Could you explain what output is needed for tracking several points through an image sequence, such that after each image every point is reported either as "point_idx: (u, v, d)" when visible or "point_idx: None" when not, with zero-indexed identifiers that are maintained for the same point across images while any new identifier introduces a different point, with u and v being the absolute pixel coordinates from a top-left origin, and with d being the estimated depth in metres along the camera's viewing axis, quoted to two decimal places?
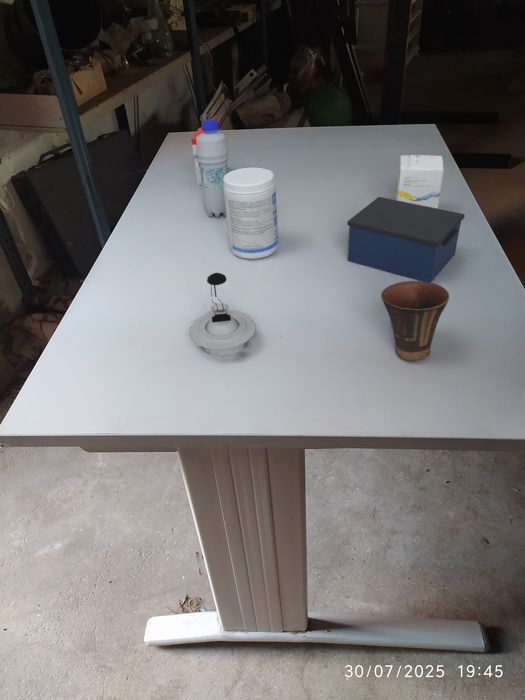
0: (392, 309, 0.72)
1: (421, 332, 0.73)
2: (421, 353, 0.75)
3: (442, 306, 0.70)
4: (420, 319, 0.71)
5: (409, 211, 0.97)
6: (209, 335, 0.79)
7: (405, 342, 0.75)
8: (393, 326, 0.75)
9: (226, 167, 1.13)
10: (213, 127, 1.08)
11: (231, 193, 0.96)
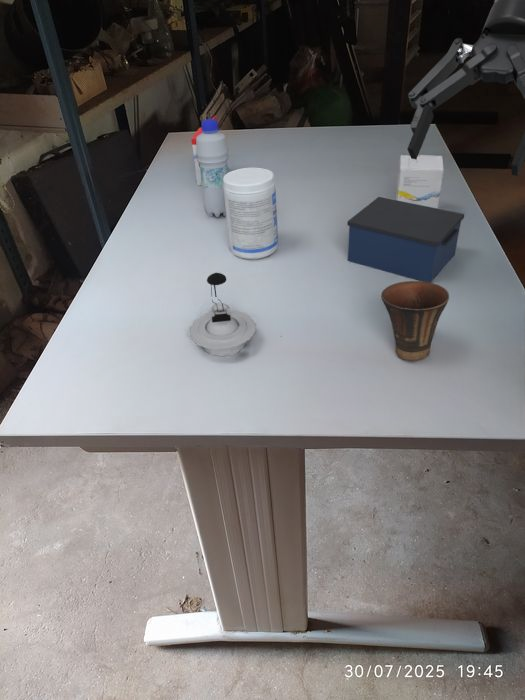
0: (393, 309, 0.72)
1: (421, 332, 0.73)
2: (421, 353, 0.75)
3: (442, 306, 0.70)
4: (420, 319, 0.71)
5: (409, 211, 0.97)
6: (209, 335, 0.79)
7: (405, 342, 0.75)
8: (393, 326, 0.75)
9: (226, 167, 1.13)
10: (213, 127, 1.08)
11: (231, 193, 0.96)
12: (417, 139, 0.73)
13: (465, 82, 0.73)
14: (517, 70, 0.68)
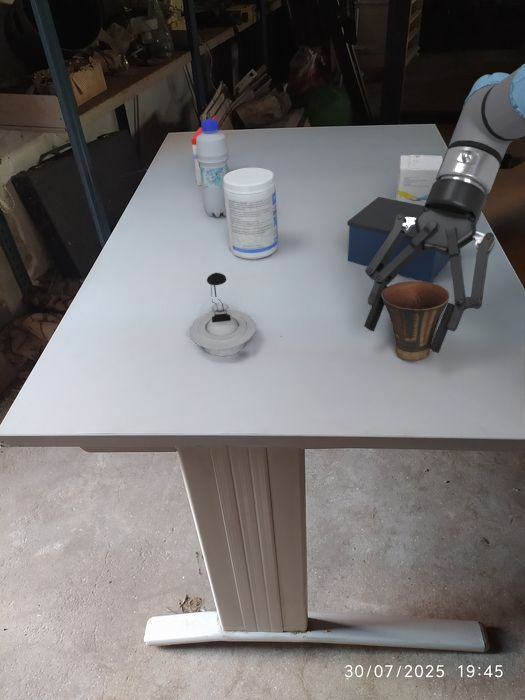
0: (393, 309, 0.72)
1: (421, 332, 0.73)
2: (421, 353, 0.75)
3: (442, 306, 0.70)
4: (420, 319, 0.71)
5: (409, 211, 0.97)
6: (209, 335, 0.79)
7: (406, 342, 0.75)
8: (393, 326, 0.75)
9: (226, 167, 1.13)
10: (213, 127, 1.08)
11: (231, 193, 0.96)
12: (373, 317, 0.76)
13: (414, 254, 0.76)
14: (449, 251, 0.72)
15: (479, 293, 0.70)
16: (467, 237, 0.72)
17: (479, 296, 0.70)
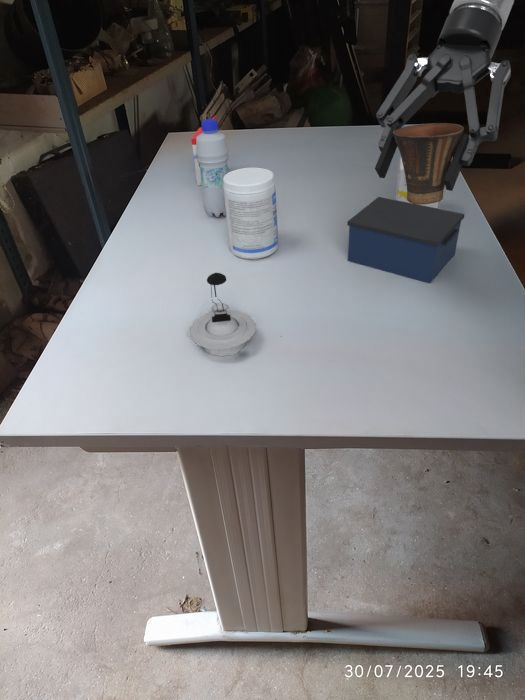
0: (405, 141, 0.69)
1: (434, 168, 0.70)
2: (434, 195, 0.73)
3: (457, 135, 0.68)
4: (434, 150, 0.69)
5: (409, 211, 0.97)
6: (209, 335, 0.79)
7: (418, 182, 0.72)
8: (405, 166, 0.73)
9: (226, 167, 1.13)
10: (213, 127, 1.08)
11: (231, 193, 0.96)
12: (384, 159, 0.74)
13: (426, 95, 0.74)
14: (463, 82, 0.70)
15: (495, 120, 0.68)
16: (482, 68, 0.70)
17: (495, 123, 0.68)
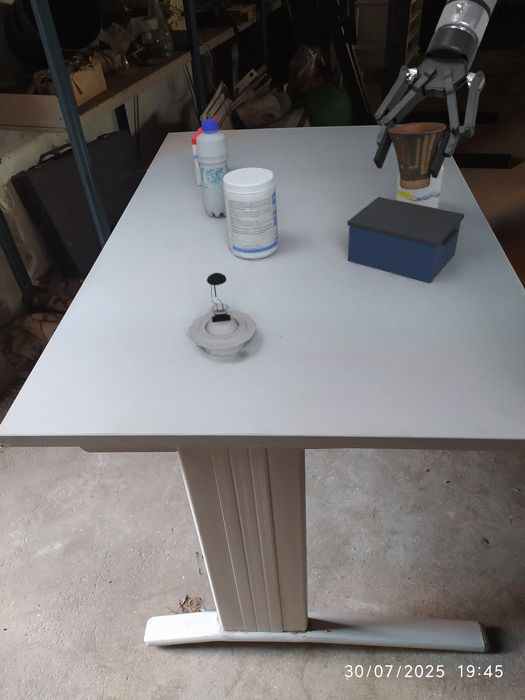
0: (398, 137, 0.85)
1: (422, 159, 0.86)
2: (422, 181, 0.88)
3: (440, 132, 0.83)
4: (421, 144, 0.84)
5: (409, 211, 0.97)
6: (209, 335, 0.79)
7: (409, 171, 0.87)
8: (398, 158, 0.88)
9: (226, 167, 1.13)
10: (213, 127, 1.08)
11: (231, 193, 0.96)
12: (381, 152, 0.89)
13: (416, 99, 0.89)
14: (445, 89, 0.85)
15: (471, 120, 0.83)
16: (461, 77, 0.85)
17: (471, 123, 0.83)
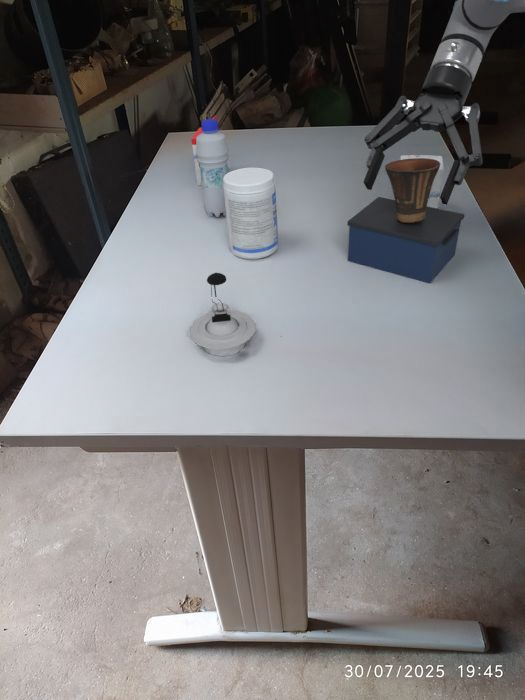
0: (394, 174, 0.88)
1: (417, 194, 0.89)
2: (418, 215, 0.92)
3: (434, 169, 0.87)
4: (416, 181, 0.87)
5: None
6: (209, 335, 0.79)
7: (405, 205, 0.91)
8: (395, 193, 0.91)
9: (226, 167, 1.13)
10: (213, 127, 1.08)
11: (231, 193, 0.96)
12: (371, 175, 0.93)
13: (408, 129, 0.93)
14: (445, 123, 0.88)
15: (479, 149, 0.85)
16: (457, 112, 0.88)
17: (480, 151, 0.85)
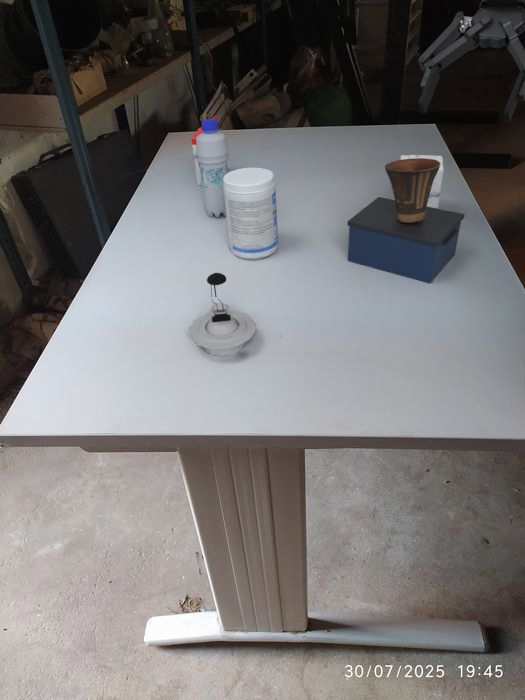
0: (394, 174, 0.88)
1: (417, 194, 0.89)
2: (418, 215, 0.92)
3: (434, 169, 0.87)
4: (417, 181, 0.87)
5: None
6: (209, 335, 0.79)
7: (405, 205, 0.91)
8: (395, 193, 0.91)
9: (226, 167, 1.13)
10: (213, 127, 1.08)
11: (231, 193, 0.96)
12: (426, 95, 0.88)
13: (466, 47, 0.88)
14: (508, 36, 0.83)
15: None
16: (520, 25, 0.83)
17: None
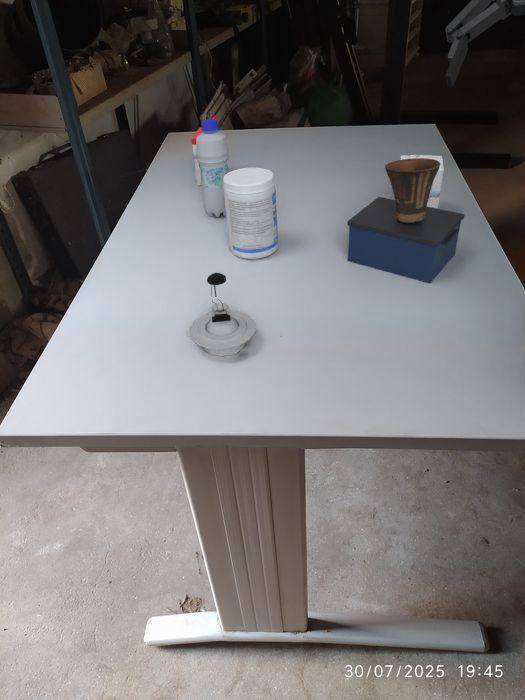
0: (394, 174, 0.88)
1: (417, 194, 0.89)
2: (418, 215, 0.92)
3: (434, 169, 0.87)
4: (417, 181, 0.87)
5: None
6: (209, 335, 0.79)
7: (405, 205, 0.91)
8: (395, 193, 0.91)
9: (226, 167, 1.13)
10: (213, 127, 1.08)
11: (231, 193, 0.96)
12: (454, 67, 0.81)
13: (497, 15, 0.81)
14: None
15: None
16: None
17: None
